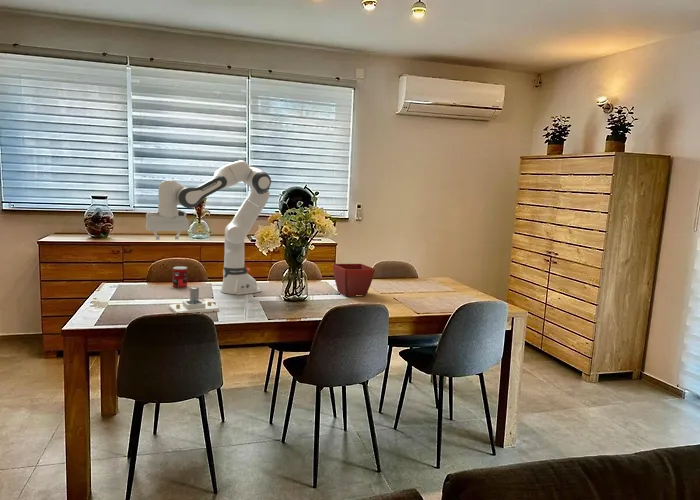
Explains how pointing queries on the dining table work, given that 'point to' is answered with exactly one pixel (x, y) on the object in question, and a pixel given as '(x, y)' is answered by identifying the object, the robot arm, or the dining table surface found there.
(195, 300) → the pin
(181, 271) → the canned food
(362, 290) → the plant pot
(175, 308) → the housing
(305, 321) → the dining table surface
